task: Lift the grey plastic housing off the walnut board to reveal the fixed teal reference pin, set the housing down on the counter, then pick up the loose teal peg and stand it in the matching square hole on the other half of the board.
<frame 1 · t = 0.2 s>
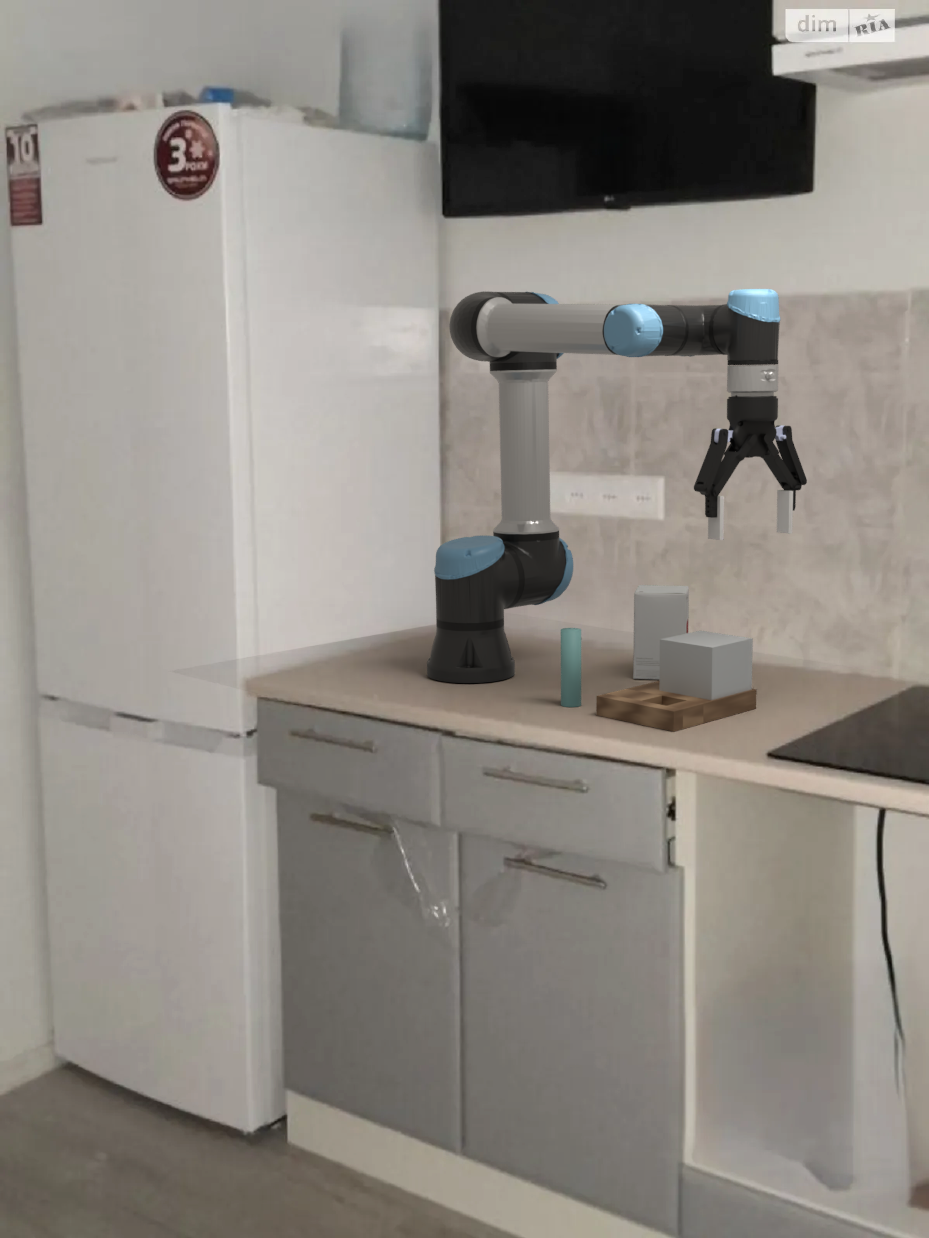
hand: (750, 536, 231), 27 cm above the worktop, fingers open, 13 cm apart
board: (676, 711, 233), on the worktop
peg: (571, 704, 239), on the worktop
cover: (705, 689, 234), point 3 cm above the worktop, touching board
supplement box: (661, 676, 260), on the worktop
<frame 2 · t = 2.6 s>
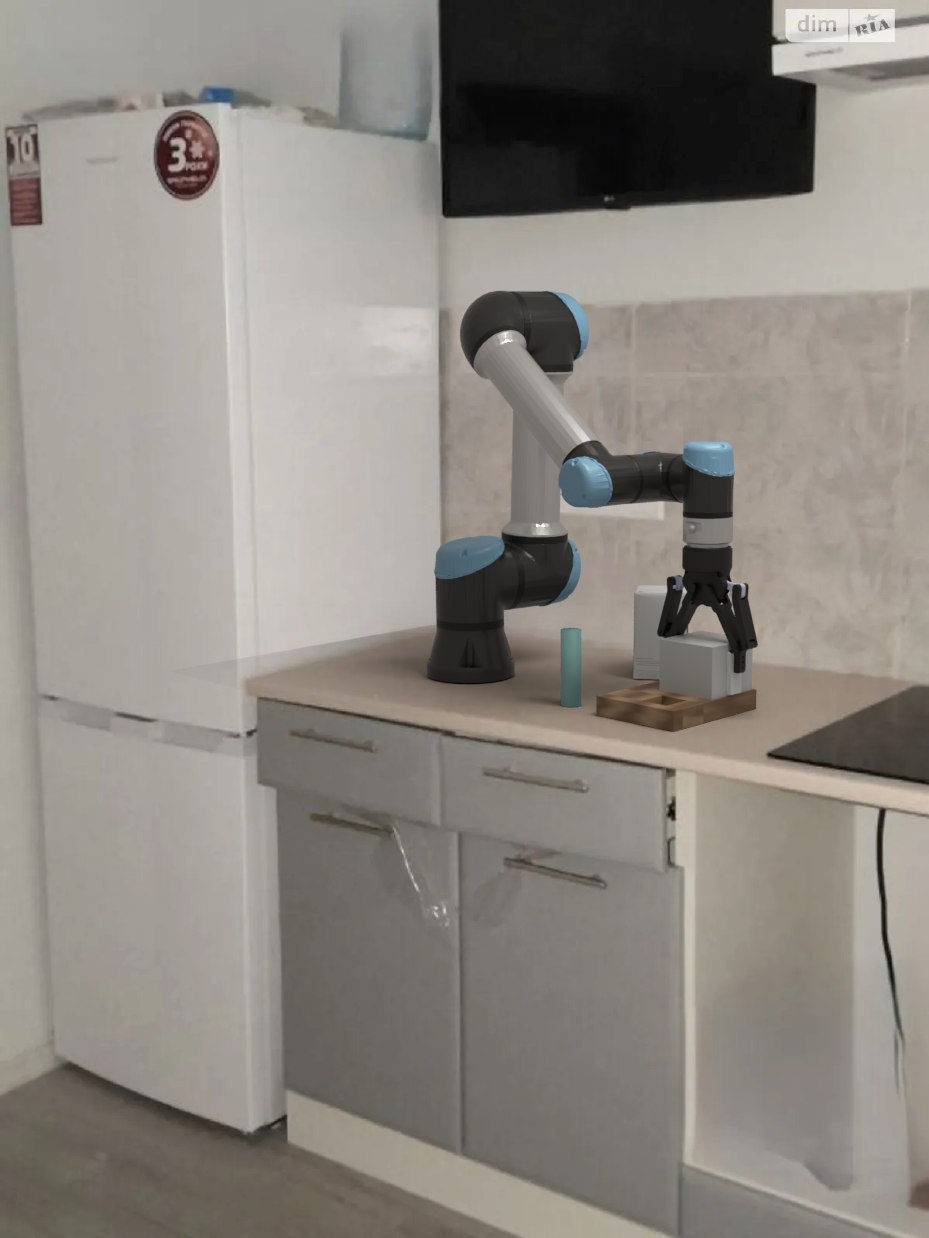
hand: (705, 688, 234), 3 cm above the worktop, fingers closed on cover, 10 cm apart
cover: (705, 689, 234), point 3 cm above the worktop, touching board, gripper
everything else where it was.
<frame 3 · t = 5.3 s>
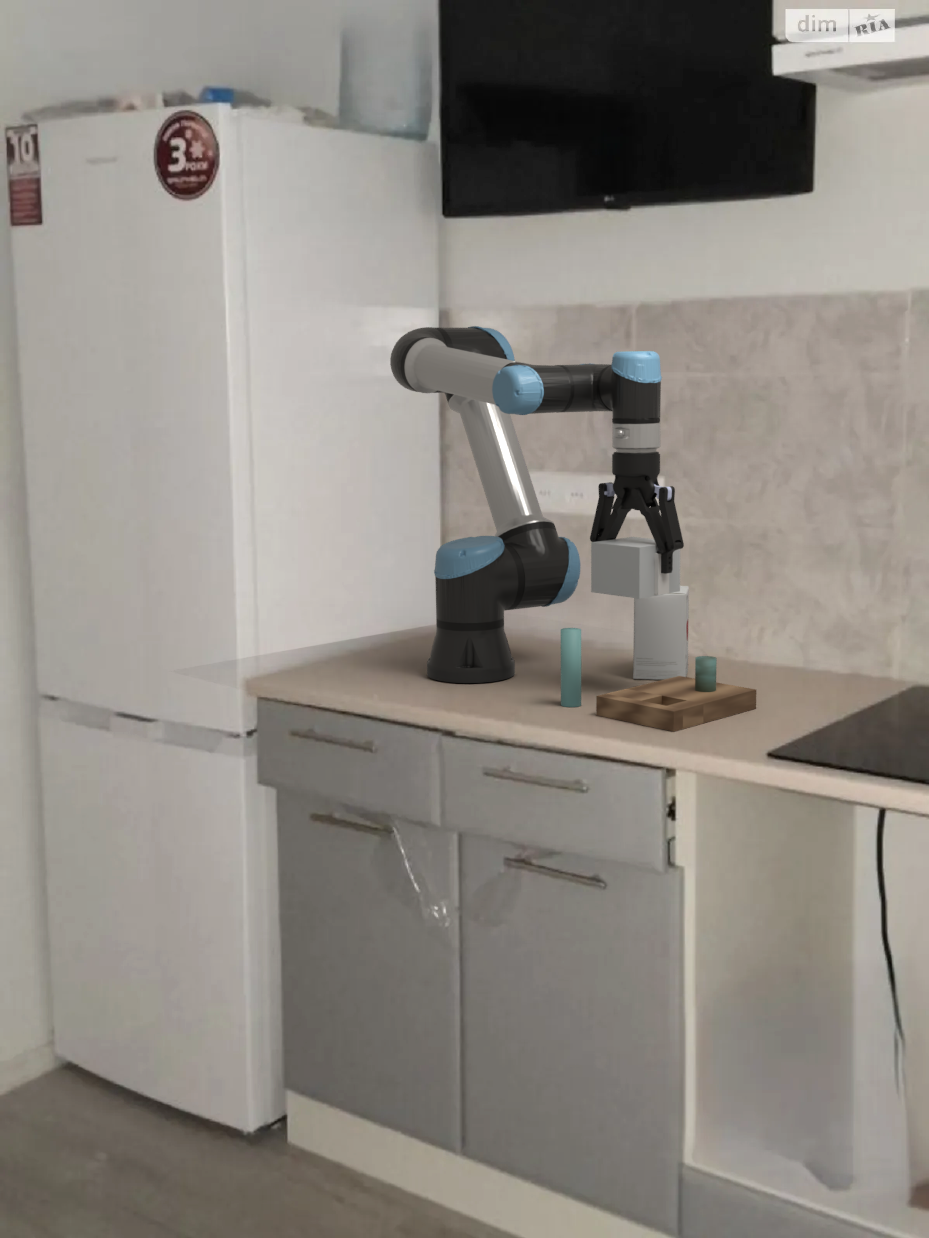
hand: (635, 590, 243), 17 cm above the worktop, fingers closed on cover, 10 cm apart
cover: (635, 591, 243), point 17 cm above the worktop, touching gripper
everything else where it was.
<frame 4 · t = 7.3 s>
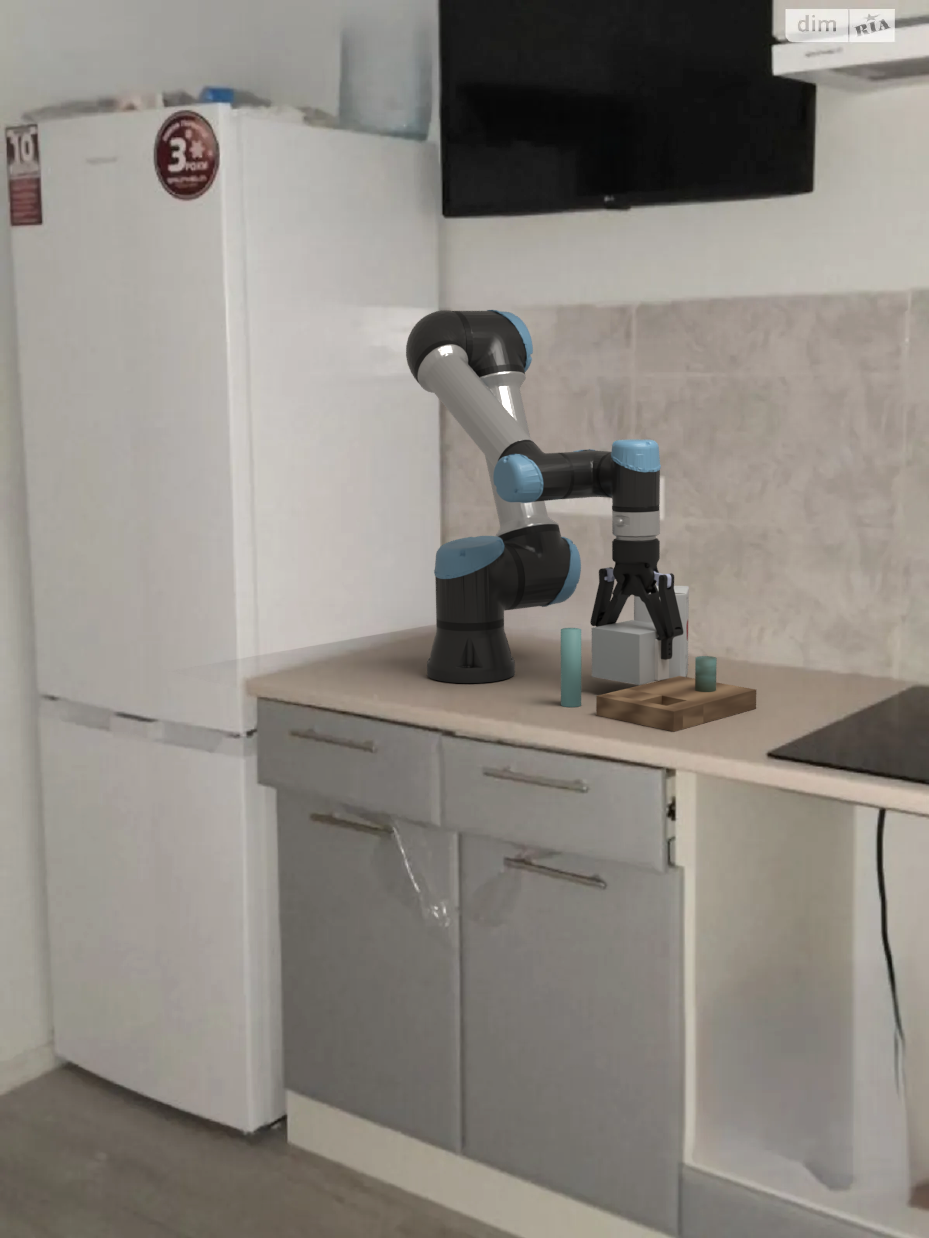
hand: (636, 674, 245), 3 cm above the worktop, fingers closed on cover, 10 cm apart
cover: (635, 676, 245), point 3 cm above the worktop, touching gripper
everything else where it was.
when the fingers open (3 cm above the worktop, at t = 8.0 s): cover drops 3 cm, on the worktop.
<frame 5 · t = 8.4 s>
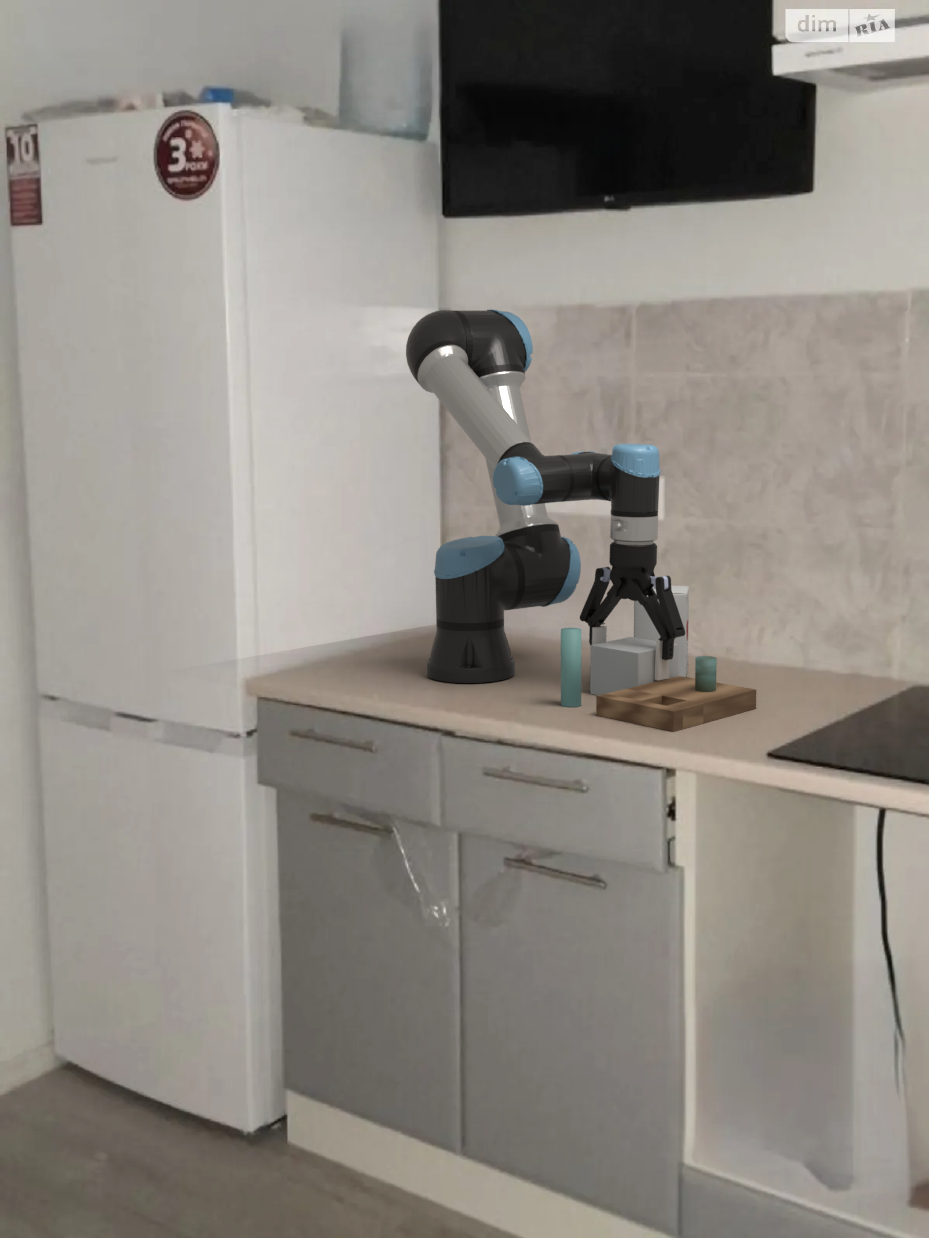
hand: (629, 672, 246), 3 cm above the worktop, fingers open, 13 cm apart
cover: (634, 693, 246), on the worktop
everything else where it was.
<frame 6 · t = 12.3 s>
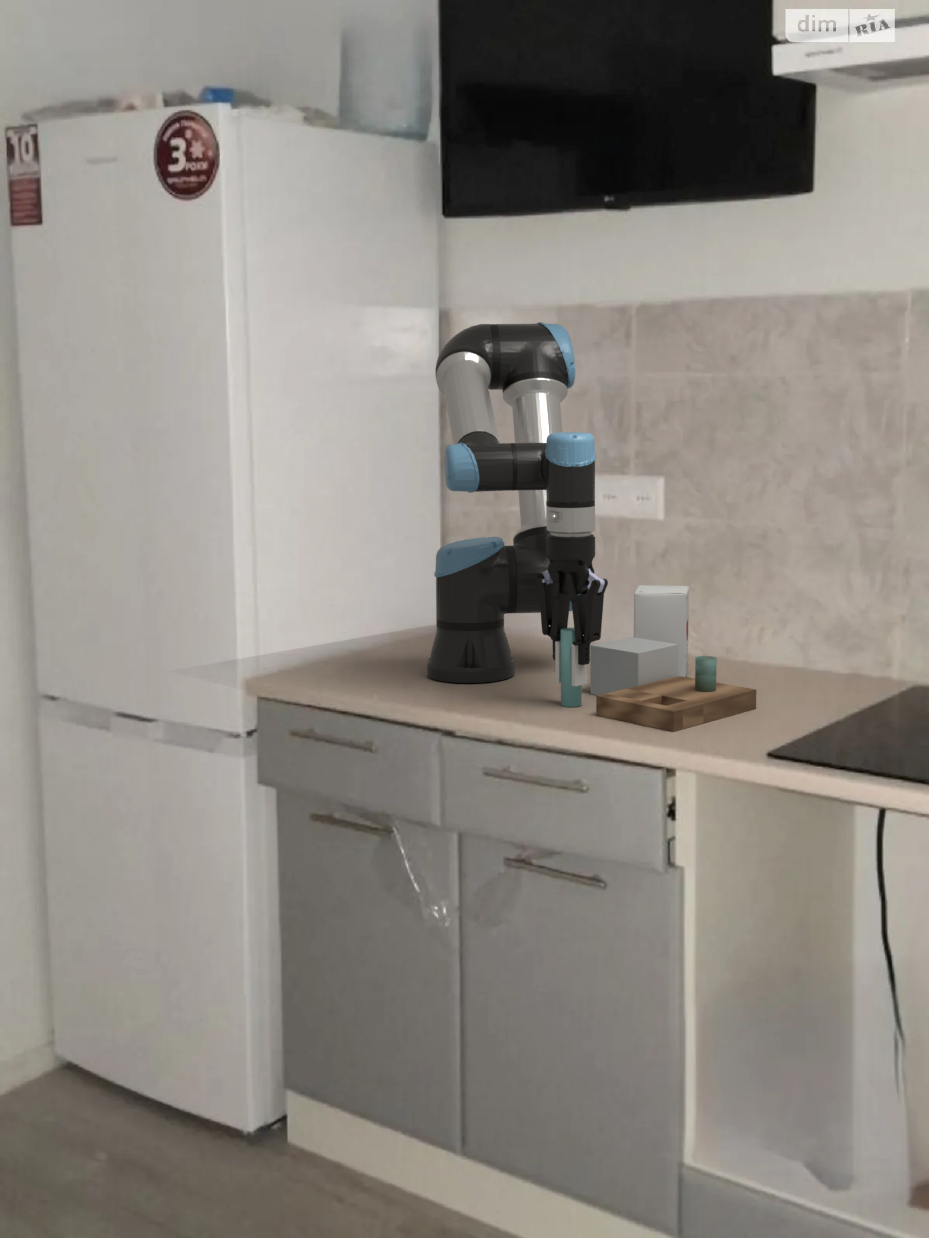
hand: (571, 682, 238), 4 cm above the worktop, fingers closed on peg, 3 cm apart
peg: (571, 704, 239), on the worktop, touching gripper
everything else where it was.
when the fingers open (5 cm above the worktop, at t = 17.2 s): peg drops 1 cm, resting in board.
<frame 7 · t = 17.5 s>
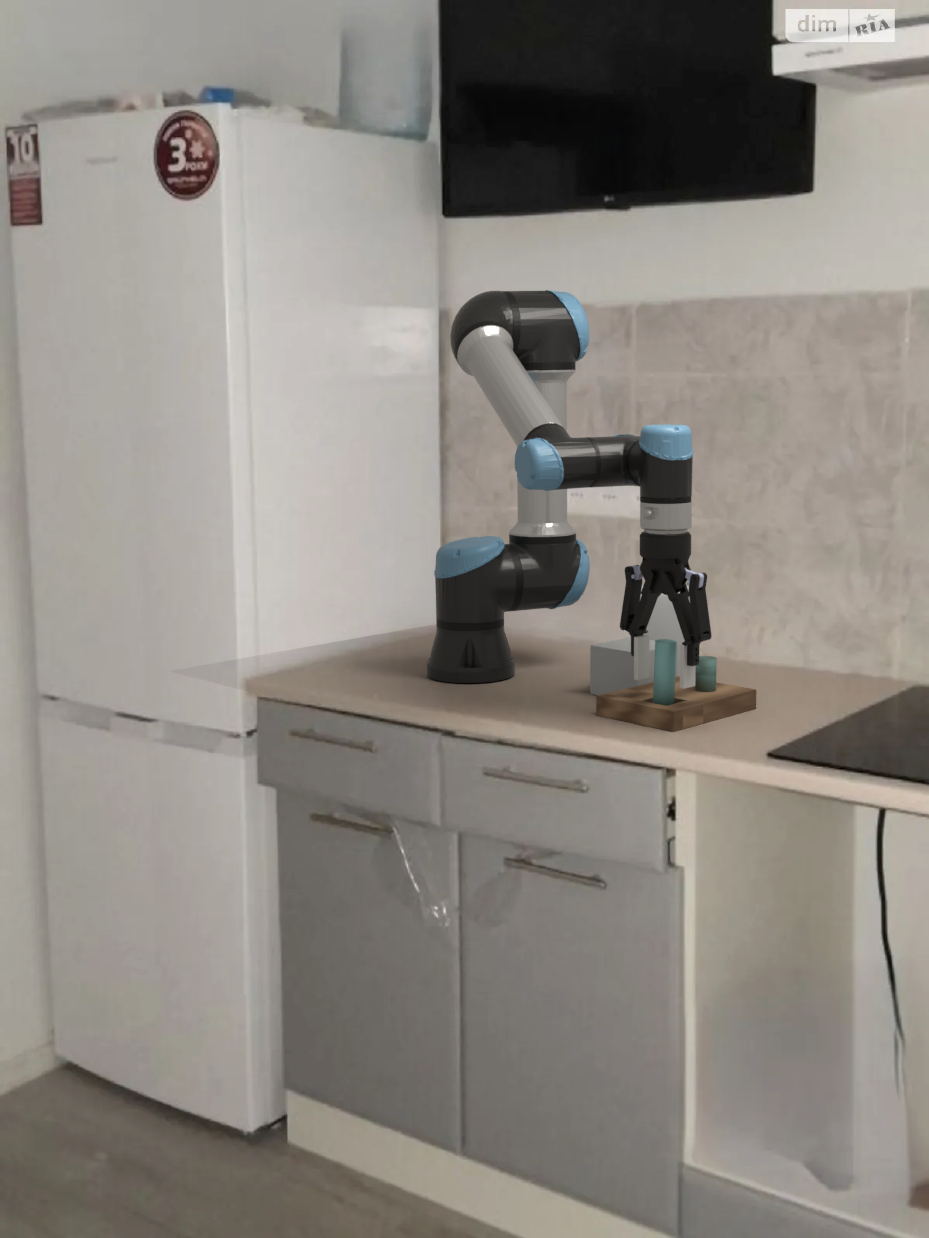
hand: (664, 682, 227), 6 cm above the worktop, fingers open, 8 cm apart
peg: (662, 719, 228), resting in board
everything else where it was.
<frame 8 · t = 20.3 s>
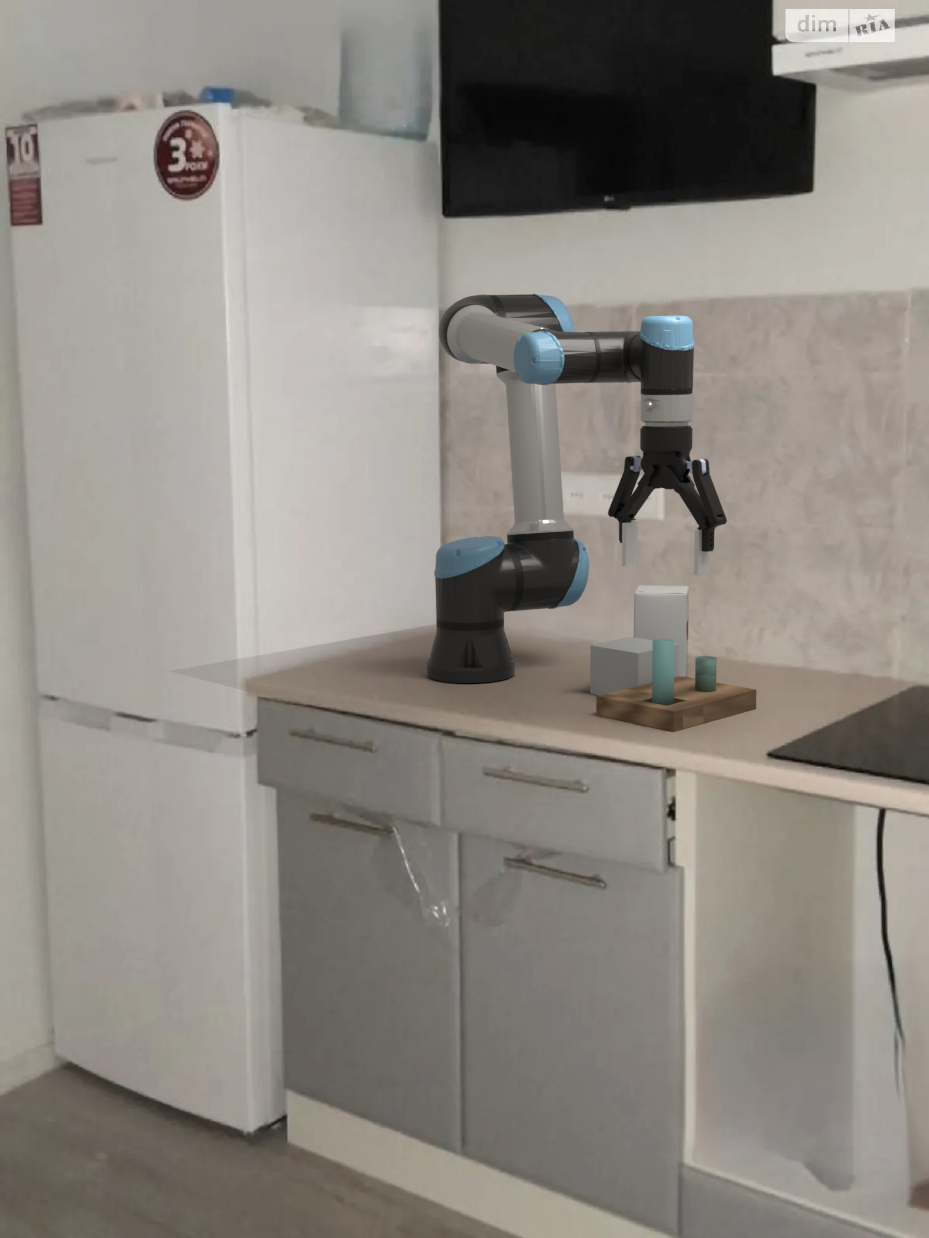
hand: (665, 569, 224), 23 cm above the worktop, fingers open, 13 cm apart
nothing on the worktop moved.
at the end: peg 0.1 cm from the target spot on the board, point 0.0 cm above the board's base; peg tilted 0°; cover moved 15.4 cm from its start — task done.
